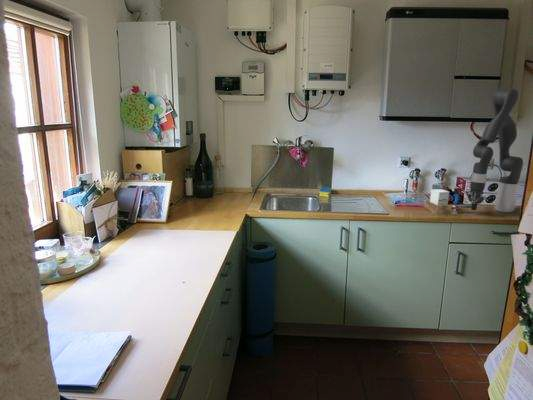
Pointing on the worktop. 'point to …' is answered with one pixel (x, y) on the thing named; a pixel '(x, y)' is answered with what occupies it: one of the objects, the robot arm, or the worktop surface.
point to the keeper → (439, 208)
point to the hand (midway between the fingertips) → (473, 209)
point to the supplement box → (439, 197)
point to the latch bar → (461, 206)
